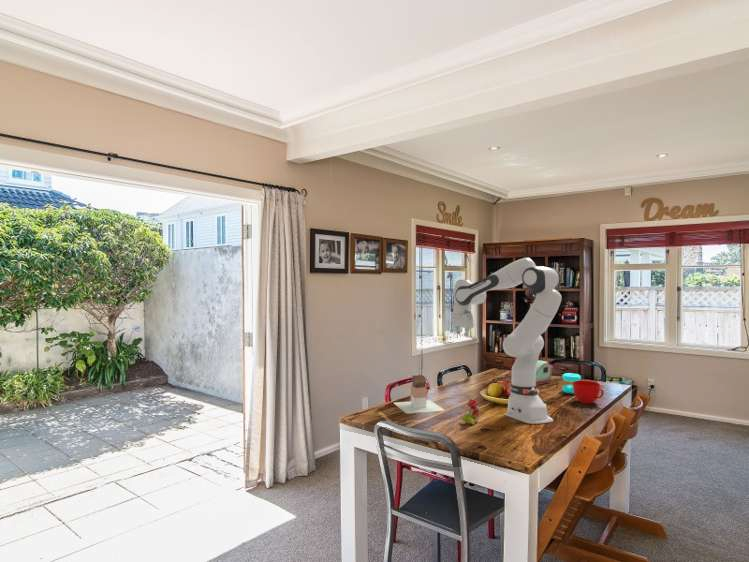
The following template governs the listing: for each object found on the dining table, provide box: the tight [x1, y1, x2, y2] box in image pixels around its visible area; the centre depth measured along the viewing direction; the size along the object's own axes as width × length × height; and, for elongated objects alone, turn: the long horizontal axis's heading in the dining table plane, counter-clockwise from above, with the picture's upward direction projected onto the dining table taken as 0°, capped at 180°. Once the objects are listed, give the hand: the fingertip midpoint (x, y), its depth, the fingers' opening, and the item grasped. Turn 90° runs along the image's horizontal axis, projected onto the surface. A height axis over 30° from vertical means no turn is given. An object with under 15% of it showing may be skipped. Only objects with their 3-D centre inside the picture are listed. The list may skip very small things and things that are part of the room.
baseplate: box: [393, 399, 446, 415], centre depth 238 cm, size 20×20×1 cm
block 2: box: [410, 395, 427, 408], centre depth 238 cm, size 6×6×5 cm
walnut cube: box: [411, 374, 426, 388], centre depth 238 cm, size 5×5×5 cm
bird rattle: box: [461, 398, 482, 426], centre depth 216 cm, size 6×11×9 cm
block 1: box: [410, 384, 427, 399], centre depth 238 cm, size 6×6×5 cm
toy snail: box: [536, 359, 554, 386], centre depth 298 cm, size 25×8×14 cm, turn 127°
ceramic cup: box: [572, 380, 604, 405], centre depth 250 cm, size 13×17×10 cm
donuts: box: [561, 372, 582, 395], centre depth 274 cm, size 10×10×10 cm
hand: (462, 335), depth 259 cm, fingers open, 8 cm apart
